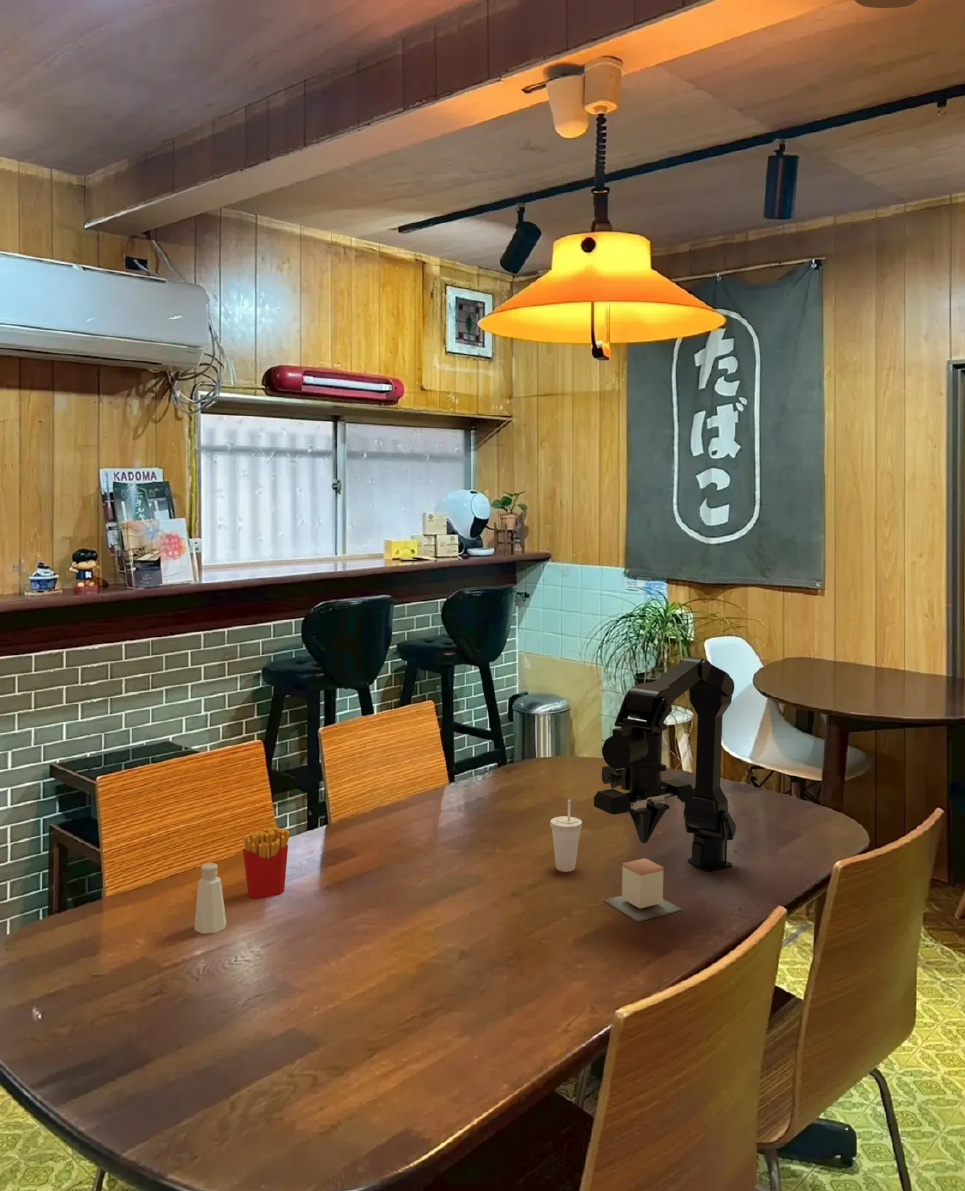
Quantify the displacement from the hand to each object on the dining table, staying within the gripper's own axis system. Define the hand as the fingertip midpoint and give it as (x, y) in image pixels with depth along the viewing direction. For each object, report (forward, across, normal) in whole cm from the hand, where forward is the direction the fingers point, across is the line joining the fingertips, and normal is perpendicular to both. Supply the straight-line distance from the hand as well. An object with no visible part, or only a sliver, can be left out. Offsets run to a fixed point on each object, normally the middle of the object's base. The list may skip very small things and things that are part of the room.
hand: (643, 842), depth 178 cm
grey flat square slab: (+12, 0, 0) cm, 12 cm away
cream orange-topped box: (+11, 0, 0) cm, 11 cm away
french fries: (+12, +58, -38) cm, 70 cm away
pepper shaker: (+12, +71, -28) cm, 77 cm away
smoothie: (+12, +2, -22) cm, 25 cm away
